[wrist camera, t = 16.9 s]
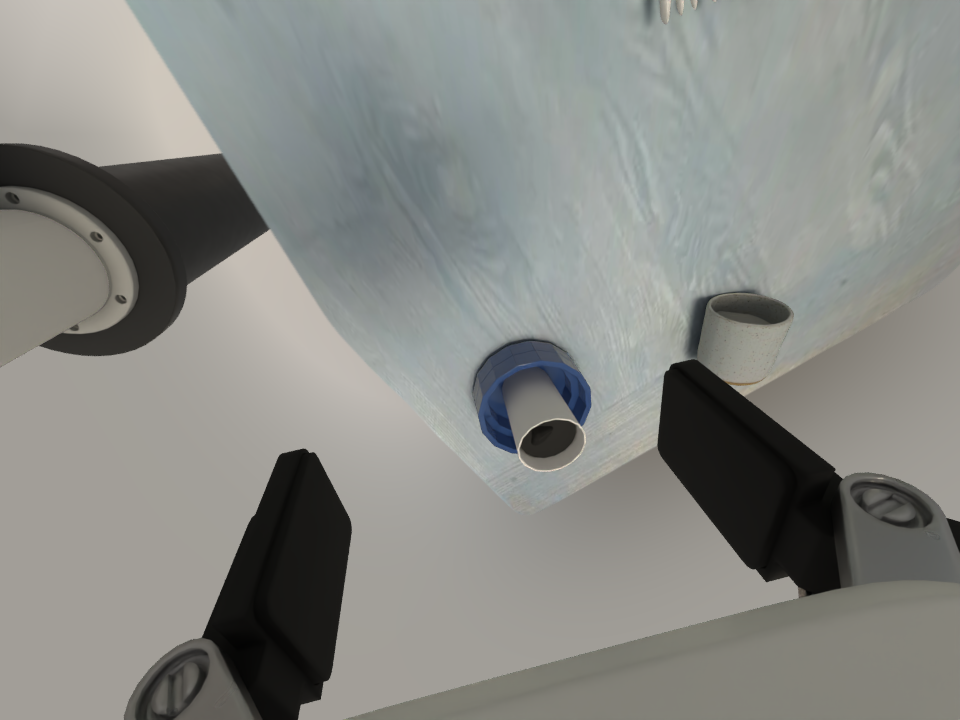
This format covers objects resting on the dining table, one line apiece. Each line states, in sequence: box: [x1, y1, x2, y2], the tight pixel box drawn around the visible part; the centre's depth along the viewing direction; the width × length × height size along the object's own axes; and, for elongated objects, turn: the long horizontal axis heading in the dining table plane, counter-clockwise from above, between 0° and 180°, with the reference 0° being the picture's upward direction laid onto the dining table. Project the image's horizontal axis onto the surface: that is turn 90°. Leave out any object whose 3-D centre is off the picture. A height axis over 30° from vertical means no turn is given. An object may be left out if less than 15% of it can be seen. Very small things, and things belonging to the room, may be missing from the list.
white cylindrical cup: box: [502, 367, 586, 472], centre depth 41 cm, size 7×7×10 cm
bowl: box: [473, 341, 591, 454], centre depth 44 cm, size 12×12×5 cm
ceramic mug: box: [697, 293, 794, 386], centre depth 43 cm, size 11×8×8 cm
